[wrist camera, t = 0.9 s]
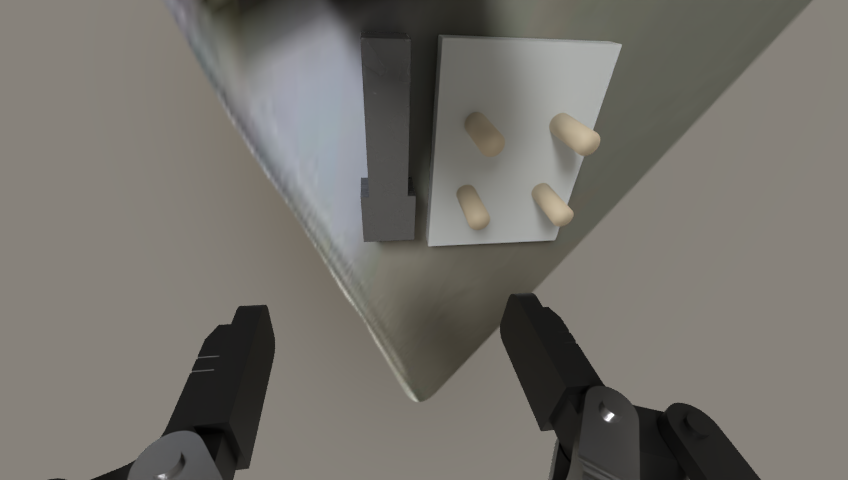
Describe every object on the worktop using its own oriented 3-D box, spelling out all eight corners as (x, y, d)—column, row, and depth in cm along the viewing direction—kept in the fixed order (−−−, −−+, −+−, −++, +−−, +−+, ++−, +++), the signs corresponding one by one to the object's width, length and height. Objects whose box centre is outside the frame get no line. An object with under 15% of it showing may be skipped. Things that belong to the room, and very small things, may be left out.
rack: (438, 34, 22) (456, 46, 18) (609, 41, 24) (664, 54, 19) (425, 236, 31) (435, 276, 27) (548, 231, 33) (576, 268, 29)
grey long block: (351, 30, 21) (349, 37, 19) (415, 33, 22) (421, 39, 19) (363, 219, 30) (363, 241, 27) (409, 218, 30) (414, 239, 28)
